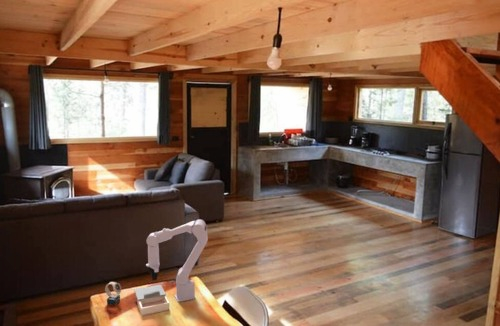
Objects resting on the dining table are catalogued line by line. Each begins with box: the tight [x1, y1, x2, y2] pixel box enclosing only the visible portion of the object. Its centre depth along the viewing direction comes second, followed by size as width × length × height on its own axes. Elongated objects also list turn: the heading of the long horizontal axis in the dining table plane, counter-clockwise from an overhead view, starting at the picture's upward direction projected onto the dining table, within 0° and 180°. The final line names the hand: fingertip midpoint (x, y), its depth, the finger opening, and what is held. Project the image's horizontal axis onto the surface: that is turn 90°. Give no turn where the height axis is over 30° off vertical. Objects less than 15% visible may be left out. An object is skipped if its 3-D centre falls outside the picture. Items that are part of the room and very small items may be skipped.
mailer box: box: [137, 294, 170, 317], centre depth 212 cm, size 14×12×4 cm
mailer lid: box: [133, 284, 167, 301], centre depth 219 cm, size 14×12×2 cm
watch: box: [104, 281, 122, 306], centre depth 217 cm, size 6×8×11 cm
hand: (154, 279), depth 221 cm, fingers closed
